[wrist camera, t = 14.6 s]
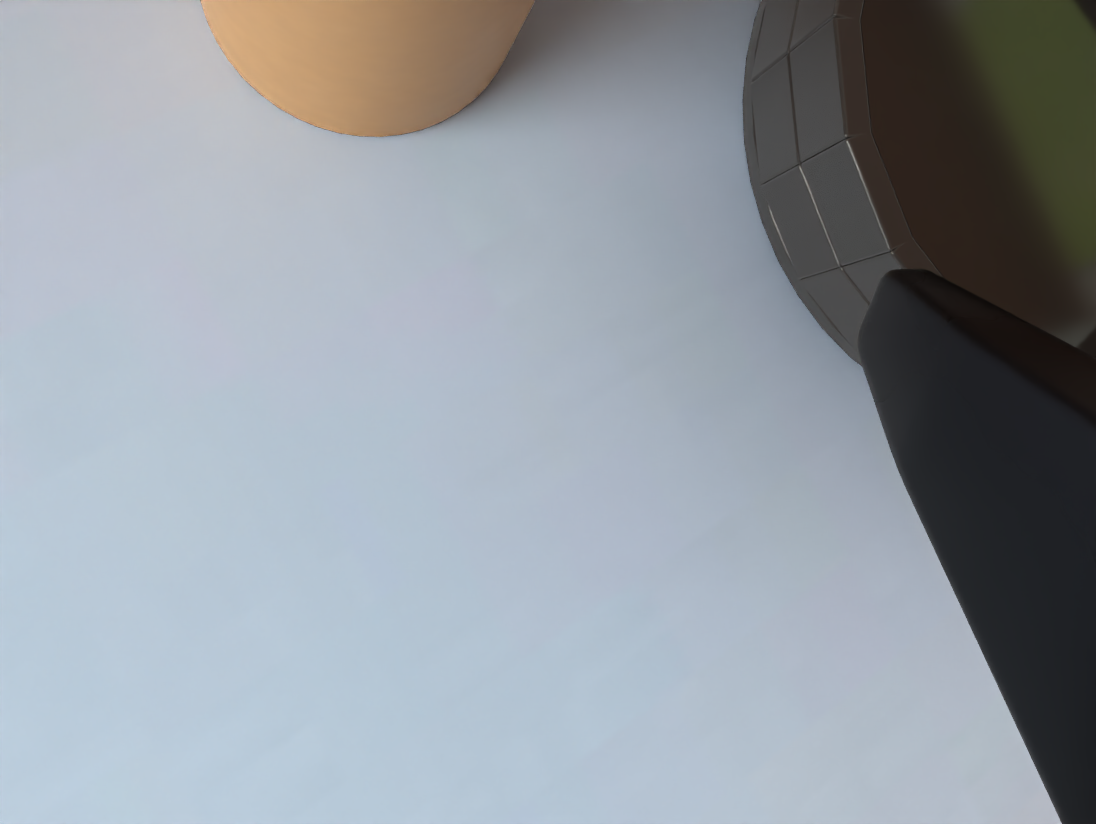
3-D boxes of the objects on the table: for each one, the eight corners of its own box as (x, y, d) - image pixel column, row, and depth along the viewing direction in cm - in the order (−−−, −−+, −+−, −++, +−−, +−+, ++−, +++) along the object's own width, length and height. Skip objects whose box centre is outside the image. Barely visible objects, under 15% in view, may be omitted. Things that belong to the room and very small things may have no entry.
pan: (1277, 397, 22) (1461, 391, 18) (773, 457, 19) (877, 462, 16) (1224, -152, 22) (1398, -264, 18) (711, -175, 19) (802, -311, 16)
